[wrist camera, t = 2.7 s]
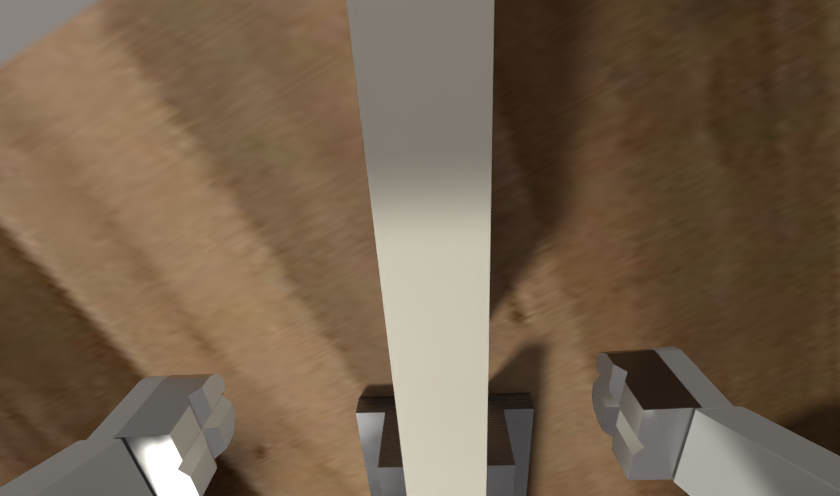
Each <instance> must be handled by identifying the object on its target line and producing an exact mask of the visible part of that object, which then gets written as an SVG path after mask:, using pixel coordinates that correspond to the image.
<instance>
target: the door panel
mask: <svg viewBox="0 0 840 496" xmlns="http://www.w3.org/2000/svg"><path fill="white" fill-rule="evenodd" d="M346 2H347V10H348V18H349V26H350V35H351V43H352V51H353V59H354V67H355V76H356V84H357V92H358V100H359V108H360V117H361V125H362V133H363V141H364V149H365V158H366V166H367V174H368V182H369V190H370V199H371V207H372V215H373V223H374V231H375V240H376V248H377V256H378V264H379V272H380V281H381V289H382V297H383V305H384V313H385V322H386V330H387V338H388V346H389V354H390V363H391V371H392V379H393V387H394V395H395V404H396V412H397V420H398V428H399V436H400V445H401V453H402V461H403V469H404V477H405V486H406V494H407V496H486V477H487V416H488V355H489V294H490V233H491V172H492V111H493V50H494V0H346Z"/></svg>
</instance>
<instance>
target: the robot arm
mask: <svg viewBox="0 0 840 496" xmlns="http://www.w3.org/2000/svg"><path fill="white" fill-rule="evenodd" d="M596 369H597V370H598V372H599V374H600V377H599V378H598V379H597V380H596V381H595V382H594V383H593V390H592V400H593V407H594V411H595V414H596V417H597V420H598V422H599V424H600V426H601V428H602V430H604V431H605V432H606V433H608V434H609V435H610V436H612V437H613V438H614V439H613V445H612V450H613V452H614V454H615V456H616V458H617V460H618V462H619V464H620V466H621V468H622V470H623V472H624V474H625V476H626V478H627V480H656V479H674V482H675V483H676V484H677V485H678V486H679V487H681V488H682V489H683V490H684V491H685V492H686V493H688V494H689V495H690V496H840V456H839V455H837V454H835V453H833V452H831V451H829V450H827V449H825V448H823V447H821V446H819V445H817V444H815V443H813V442H811V441H809V440H807V439H805V438H803V437H801V436H799V435H797V434H795V433H793V432H792V431H790V430H788V429H786V428H784V427H782V426H780V425H778V424H776V423H774V422H772V421H770V420H768V419H766V418H764V417H762V416H760V415H758V414H756V413H754V412H752V411H750V410H748V409H746V408H744V407H734V406H733V405H732V404H731V403H730V402H729V401H728V400H727V399H726V398H725V397H724V396H723V394H722V393H721V392H720V391H719V390H718V389H717V388H716V387H715V386H714V385H713V384H712V383H711V382H710V380H709V379H708V378H707V377H706V376H705V375H704V374H703V373H702V372H701V371H700V370H699V369H698V368H697V367H696V365H695V364H694V363H693V362H692V361H691V360H690V359H689V358H688V357H687V356H686V355H685V354H684V353H683V352H682V351H681V350H680V349H678V348H676V347H662V348H649V349H639V350H624V351H608V352H600V353H599V355H598V357H597V361H596ZM225 389H226V386H225V383H224V381H223V379H222V376H220V375H217V374H194V375H171V376H149V377H147V378H145V379H142V380H140V382H139V383H138V384H137V385H136V386H135V387H134V388H133V389H132V390H131V392H130V393H129V394H128V395H127V396H126V397H125V398H124V399H123V400H122V401H121V403H120V404H119V405H118V406H117V407H116V408H115V409H114V410H113V411H112V413H111V414H110V415H109V416H108V417H107V418H106V419H105V420H104V421H103V422H102V424H101V425H100V426H99V427H98V428H97V429H96V430H95V431H94V432H93V433H92V435H91V436H90V437H89V438H88V439H87V440H84V441H77V442H76V443H74V444H72V445H71V446H69V447H67V448H66V449H64V450H62V451H61V452H59V453H57V454H56V455H54V456H52V457H51V458H49V459H47V460H46V461H44V462H42V463H41V464H39V465H37V466H36V467H34V468H32V469H31V470H29V471H27V472H26V473H24V474H22V475H21V476H19V477H17V478H16V479H14V480H12V481H11V482H9V483H7V484H6V485H4V486H2V487H1V488H0V496H203V494H204V492H205V490H206V489H207V487H208V485H209V483H210V481H211V479H212V477H213V475H214V473H215V471H216V469H217V465H216V461H215V458H216V457H217V456H218V455H220V454H221V453H222V452H223V451H224V450H226V449H227V447H228V445H229V443H230V441H231V439H232V437H233V433H234V428H235V423H236V418H235V410H234V407H233V404H232V402H230V401H229V400H228V399H226V398H225V397H224V396H222V395H223V393H224V391H225Z"/></svg>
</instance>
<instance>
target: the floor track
mask: <svg viewBox="0 0 840 496" xmlns="http://www.w3.org/2000/svg"><path fill="white" fill-rule="evenodd" d="M533 412H534V408H533V404H532V401H531V398H530V394H529V393H528V394H490V395H488V416H487V477H486V496H526V493H527V482H528V470H529V458H530V447H531V435H532V424H533ZM356 417H357V422H358V428H359V433H360V438H361V444H362V449H363V455H364V460H365V466H366V471H367V476H368V482H369V487H370V493H371V496H407V494H406V486H405V477H404V469H403V461H402V453H401V445H400V436H399V428H398V420H397V412H396V404H395V397H378V398H359V401H358V405H357V410H356Z"/></svg>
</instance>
